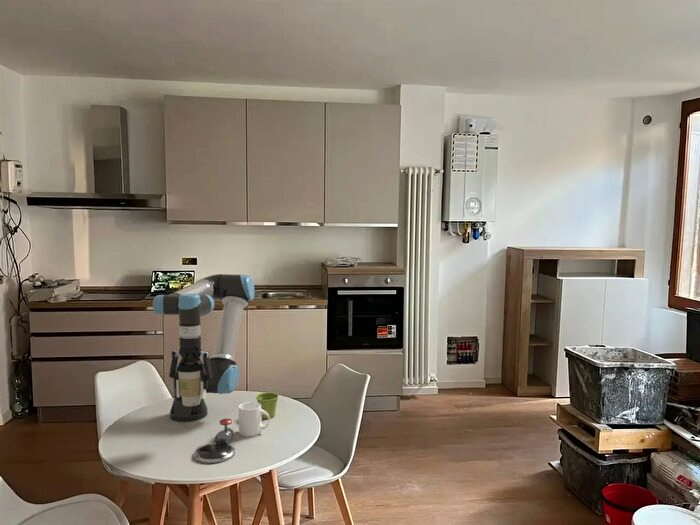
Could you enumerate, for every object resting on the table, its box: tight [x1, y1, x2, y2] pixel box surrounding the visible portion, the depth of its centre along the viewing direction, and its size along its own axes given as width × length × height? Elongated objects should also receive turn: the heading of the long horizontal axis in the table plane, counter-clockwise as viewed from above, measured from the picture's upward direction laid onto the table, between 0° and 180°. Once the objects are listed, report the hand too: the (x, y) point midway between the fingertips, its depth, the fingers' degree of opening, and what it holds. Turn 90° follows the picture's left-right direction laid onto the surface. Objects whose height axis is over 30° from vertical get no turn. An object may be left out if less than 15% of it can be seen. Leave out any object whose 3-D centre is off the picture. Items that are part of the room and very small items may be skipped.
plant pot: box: [255, 392, 280, 419], centre depth 223 cm, size 9×9×9 cm
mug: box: [238, 401, 271, 438], centre depth 206 cm, size 9×12×11 cm
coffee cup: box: [177, 361, 205, 406], centre depth 195 cm, size 10×10×15 cm
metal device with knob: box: [193, 418, 236, 465], centre depth 191 cm, size 20×14×9 cm
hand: (191, 396), depth 196 cm, fingers closed on coffee cup, 9 cm apart
